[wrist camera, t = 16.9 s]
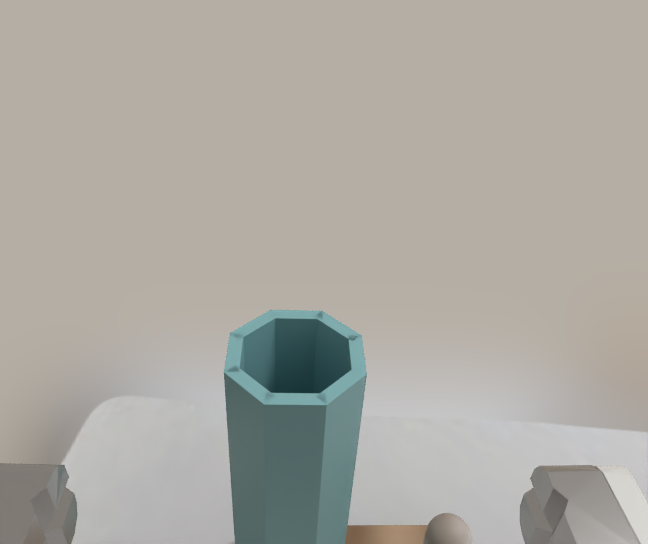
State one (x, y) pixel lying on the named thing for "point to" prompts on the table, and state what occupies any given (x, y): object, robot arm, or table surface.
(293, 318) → the sleeve
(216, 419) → the table surface
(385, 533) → the pin board
